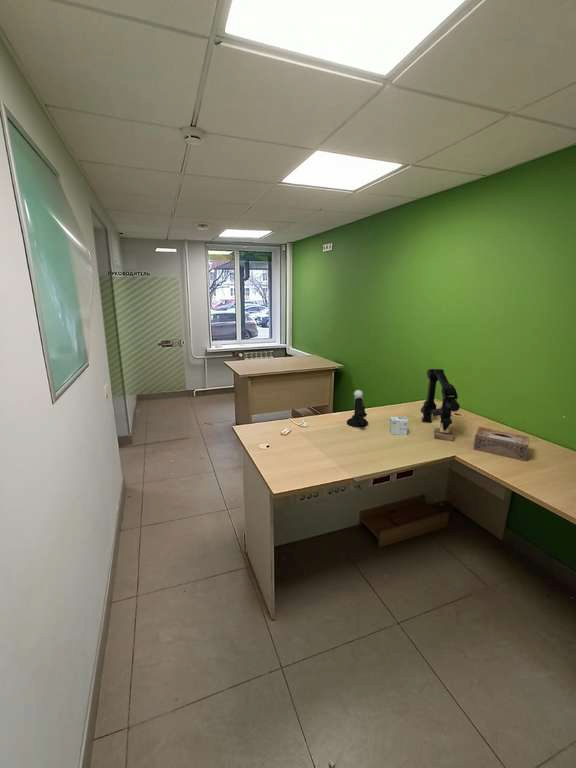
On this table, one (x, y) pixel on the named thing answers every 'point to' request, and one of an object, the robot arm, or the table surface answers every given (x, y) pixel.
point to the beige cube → (443, 429)
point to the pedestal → (443, 435)
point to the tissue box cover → (501, 443)
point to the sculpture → (358, 412)
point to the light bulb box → (398, 425)
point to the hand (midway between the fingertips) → (444, 428)
